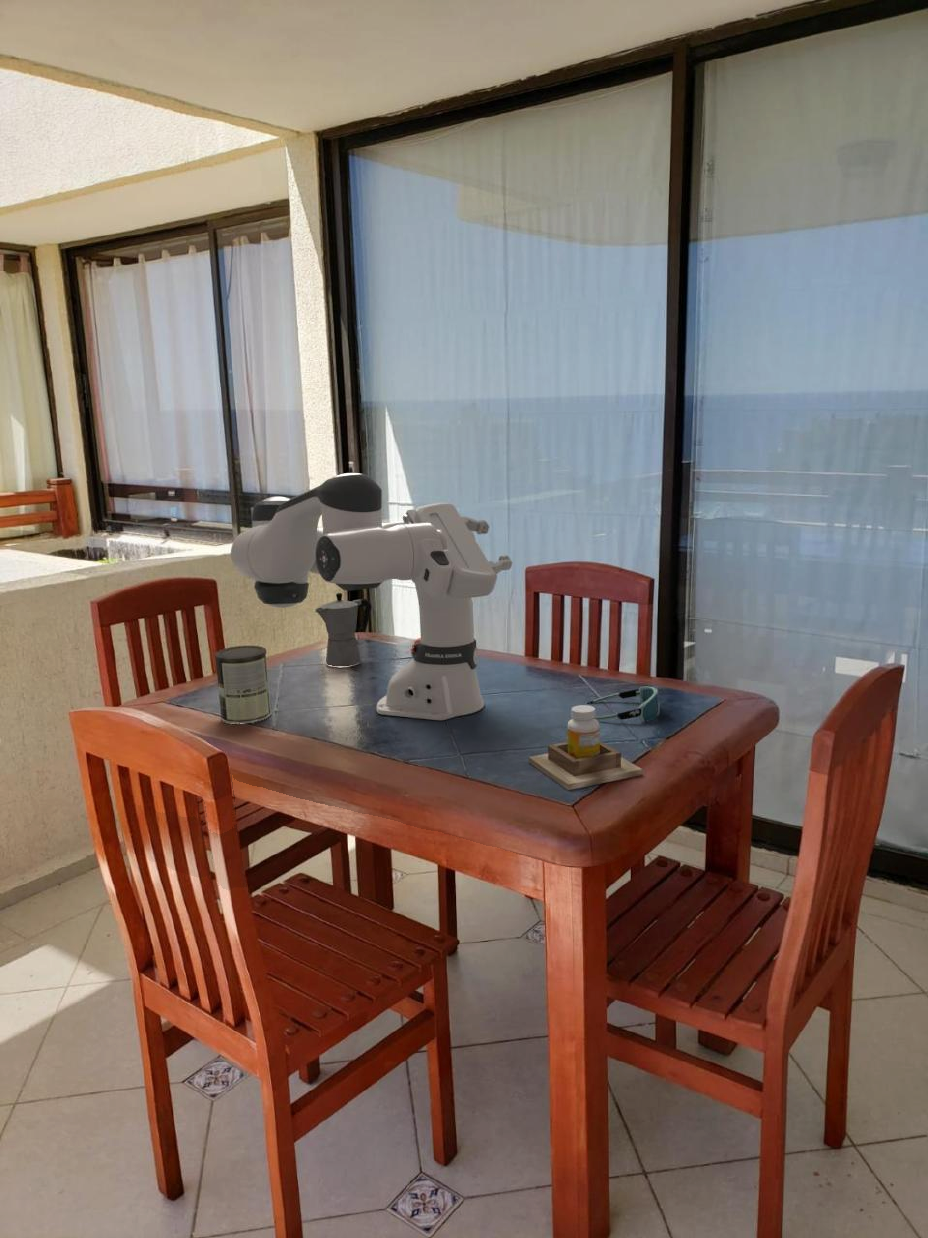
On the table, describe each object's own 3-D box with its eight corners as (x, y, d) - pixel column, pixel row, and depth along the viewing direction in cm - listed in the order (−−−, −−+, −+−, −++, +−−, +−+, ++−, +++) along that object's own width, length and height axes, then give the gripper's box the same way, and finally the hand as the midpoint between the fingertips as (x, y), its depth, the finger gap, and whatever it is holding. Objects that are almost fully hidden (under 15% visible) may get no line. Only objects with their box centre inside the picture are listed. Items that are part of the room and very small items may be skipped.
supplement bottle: (565, 758, 161) (564, 704, 159) (596, 756, 161) (595, 702, 159) (570, 769, 156) (570, 714, 154) (602, 768, 156) (602, 712, 154)
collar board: (568, 790, 150) (568, 769, 149) (528, 762, 163) (528, 743, 162) (641, 774, 155) (642, 755, 155) (598, 749, 168) (598, 730, 167)
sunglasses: (661, 725, 180) (658, 700, 179) (585, 733, 183) (581, 708, 182) (660, 703, 194) (657, 680, 193) (589, 710, 197) (585, 688, 196)
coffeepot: (328, 672, 226) (323, 599, 222) (311, 664, 234) (306, 594, 230) (383, 661, 235) (379, 590, 231) (364, 654, 242) (360, 586, 238)
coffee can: (210, 720, 192) (203, 654, 189) (248, 706, 201) (242, 643, 198) (244, 728, 186) (238, 660, 184) (281, 714, 195) (276, 648, 192)
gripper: (395, 526, 156) (470, 521, 162) (439, 607, 143) (518, 598, 149) (402, 495, 152) (478, 491, 158) (447, 576, 139) (528, 568, 144)
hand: (498, 544), depth 153 cm, fingers open, 8 cm apart
